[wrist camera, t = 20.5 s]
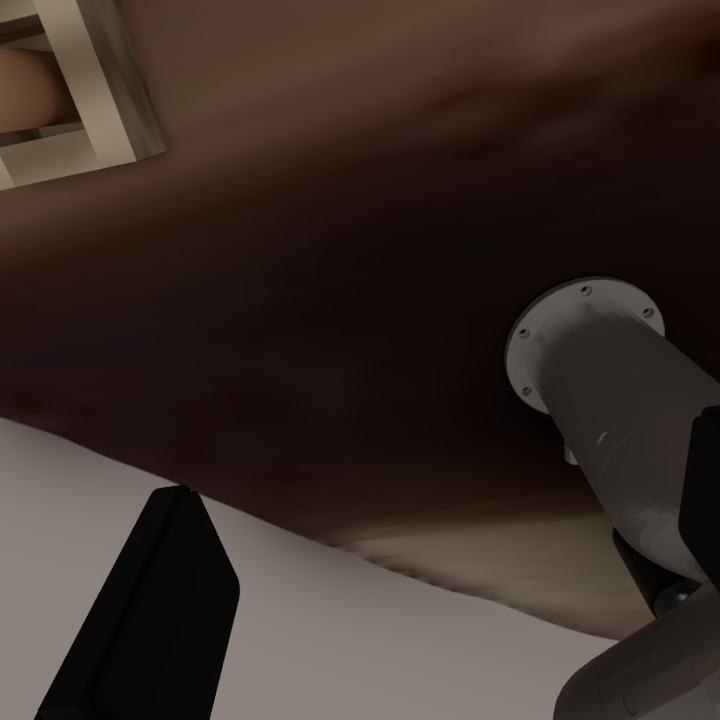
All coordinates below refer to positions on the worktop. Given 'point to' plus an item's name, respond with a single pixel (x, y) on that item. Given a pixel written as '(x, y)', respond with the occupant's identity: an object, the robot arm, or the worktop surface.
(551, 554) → the worktop surface
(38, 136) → the socket block
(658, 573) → the supplement bottle
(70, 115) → the dowel
